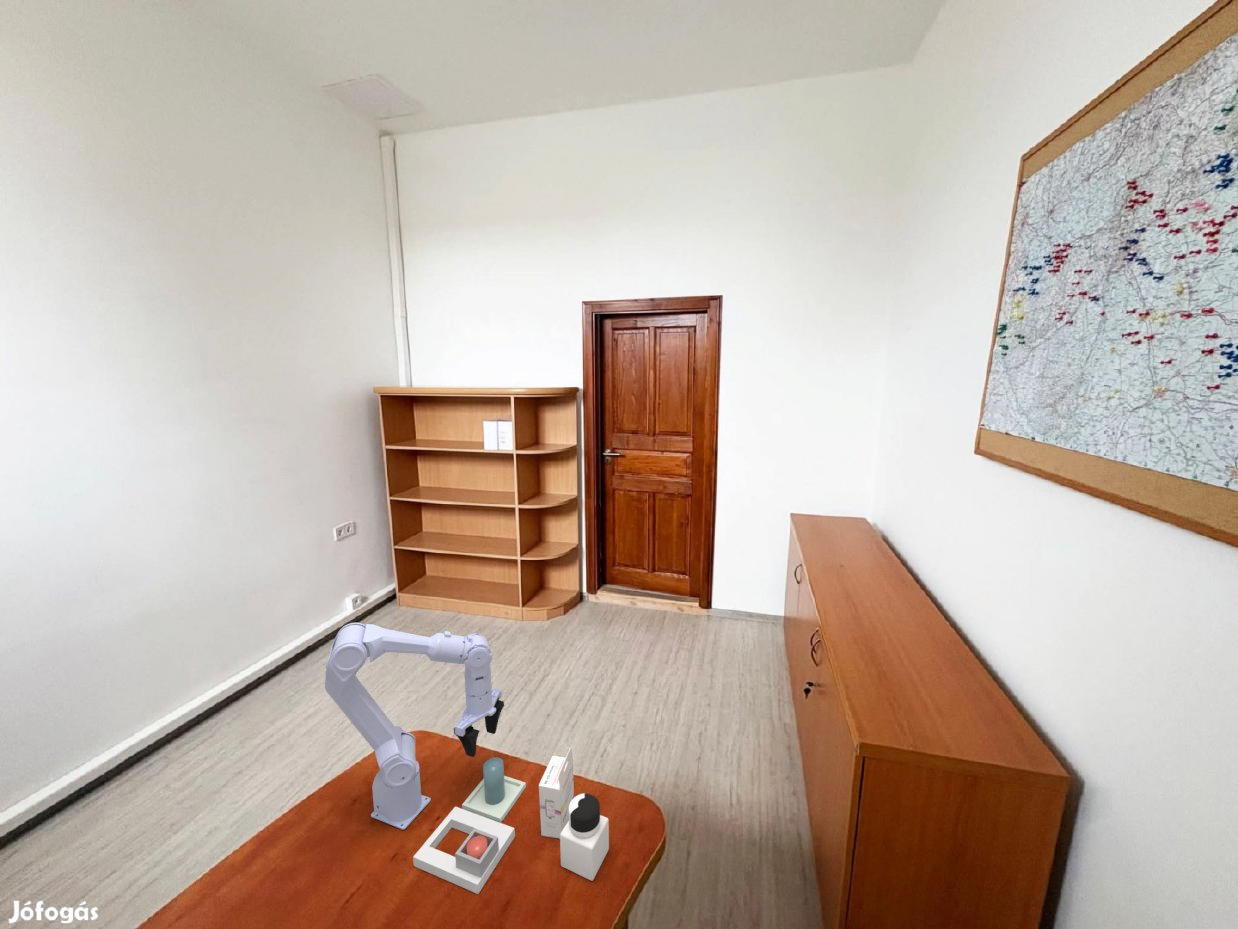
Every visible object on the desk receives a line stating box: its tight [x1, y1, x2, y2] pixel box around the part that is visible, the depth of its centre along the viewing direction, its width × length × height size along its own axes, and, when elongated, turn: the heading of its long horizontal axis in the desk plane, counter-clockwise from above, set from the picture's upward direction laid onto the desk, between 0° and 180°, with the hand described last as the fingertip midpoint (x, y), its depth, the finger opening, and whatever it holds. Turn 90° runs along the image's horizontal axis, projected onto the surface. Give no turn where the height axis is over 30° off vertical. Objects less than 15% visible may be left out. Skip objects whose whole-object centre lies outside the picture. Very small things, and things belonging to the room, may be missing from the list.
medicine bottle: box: [559, 792, 610, 882], centre depth 90 cm, size 7×7×12 cm
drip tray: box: [461, 775, 527, 824], centre depth 105 cm, size 10×10×1 cm
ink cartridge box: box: [538, 746, 575, 840], centre depth 98 cm, size 9×5×15 cm, turn 168°
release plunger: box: [467, 836, 488, 859], centre depth 89 cm, size 4×4×3 cm
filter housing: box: [412, 806, 516, 895], centre depth 92 cm, size 15×12×5 cm
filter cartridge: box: [482, 756, 505, 805], centre depth 104 cm, size 4×4×8 cm
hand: (481, 743), depth 108 cm, fingers open, 7 cm apart
